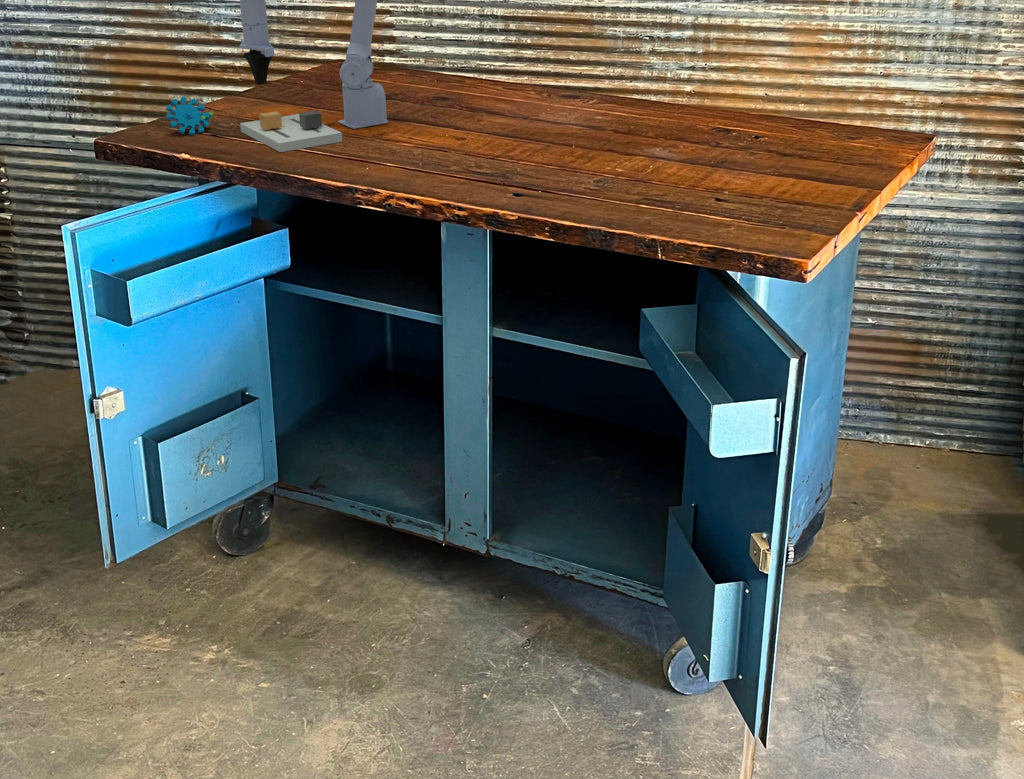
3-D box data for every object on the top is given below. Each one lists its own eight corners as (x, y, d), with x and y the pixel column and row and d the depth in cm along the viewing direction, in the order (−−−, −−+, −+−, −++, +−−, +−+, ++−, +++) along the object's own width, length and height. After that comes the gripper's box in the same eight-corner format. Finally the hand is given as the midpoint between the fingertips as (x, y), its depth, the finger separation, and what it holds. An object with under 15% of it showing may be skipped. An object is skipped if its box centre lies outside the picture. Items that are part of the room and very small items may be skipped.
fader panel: (300, 122, 293) (299, 113, 292) (342, 141, 276) (341, 132, 275) (241, 131, 285) (240, 123, 285) (280, 152, 269) (279, 143, 268)
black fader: (316, 123, 281) (315, 110, 280) (322, 126, 279) (321, 113, 278) (300, 126, 279) (299, 113, 278) (305, 129, 277) (304, 115, 276)
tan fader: (276, 124, 281) (275, 111, 280) (282, 127, 279) (281, 113, 278) (260, 127, 279) (259, 113, 278) (265, 129, 277) (264, 116, 276)
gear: (171, 132, 280) (162, 94, 283) (166, 146, 284) (157, 109, 287) (219, 132, 285) (209, 95, 288) (213, 146, 290) (204, 109, 293)
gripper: (226, 21, 286) (232, 80, 292) (251, 29, 275) (257, 91, 281) (254, 17, 289) (260, 76, 295) (280, 26, 278) (286, 87, 284)
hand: (261, 83), depth 288 cm, fingers closed
